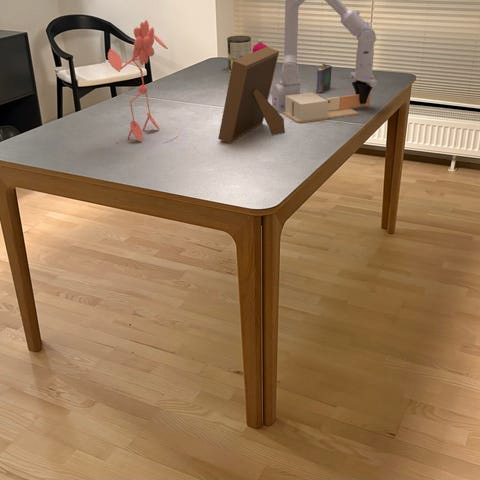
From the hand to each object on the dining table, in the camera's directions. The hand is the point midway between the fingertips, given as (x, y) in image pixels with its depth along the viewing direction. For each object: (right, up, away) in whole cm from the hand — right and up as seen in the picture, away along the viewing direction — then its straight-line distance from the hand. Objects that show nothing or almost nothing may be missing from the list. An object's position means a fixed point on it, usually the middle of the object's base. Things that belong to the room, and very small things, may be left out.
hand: (361, 102), depth 216 cm
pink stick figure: (-70, -16, -21) cm, 75 cm away
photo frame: (-38, -15, -22) cm, 46 cm away
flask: (-10, +10, +23) cm, 27 cm away
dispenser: (-15, -5, -4) cm, 16 cm away
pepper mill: (-35, +9, +23) cm, 42 cm away
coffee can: (-43, +27, +56) cm, 75 cm away
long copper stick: (-7, -2, -2) cm, 7 cm away
